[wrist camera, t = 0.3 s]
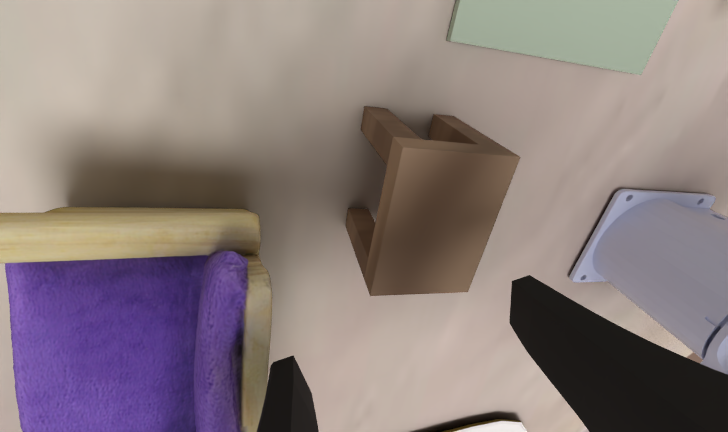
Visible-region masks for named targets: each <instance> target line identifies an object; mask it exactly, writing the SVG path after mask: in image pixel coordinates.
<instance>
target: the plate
mask: <svg viewBox="0 0 728 432" xmlns="http://www.w3.org/2000/svg"><path fill="white" fill-rule="evenodd" d="M443 432H527V430H526V429H525V427H524V426H523V424H522V423H521V421H518V420H504V419H496V420H491V421H486V422H480V423H475V424H470V425H466V426H462V427H458V428H455V429H451V430H447V431H443Z"/></svg>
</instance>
